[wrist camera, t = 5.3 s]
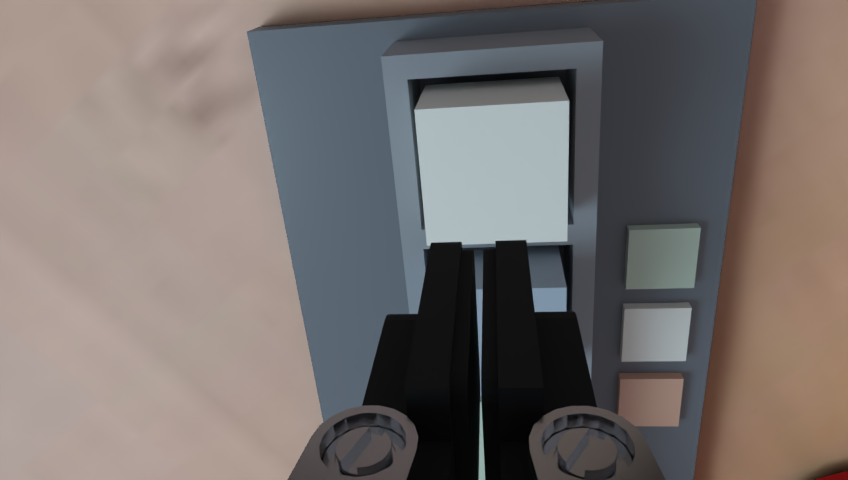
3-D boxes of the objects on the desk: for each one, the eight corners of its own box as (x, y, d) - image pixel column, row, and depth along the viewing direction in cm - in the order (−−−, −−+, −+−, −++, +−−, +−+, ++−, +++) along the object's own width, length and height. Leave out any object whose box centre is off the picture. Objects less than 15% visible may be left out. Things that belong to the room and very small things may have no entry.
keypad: (259, 26, 22) (213, 45, 18) (743, -12, 20) (798, 1, 16) (351, 517, 32) (333, 590, 29) (677, 525, 30) (701, 604, 27)
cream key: (425, 85, 19) (414, 109, 17) (558, 76, 19) (569, 100, 16) (435, 206, 21) (426, 245, 18) (557, 200, 21) (567, 241, 18)
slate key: (438, 246, 22) (430, 290, 19) (557, 242, 21) (566, 287, 19) (446, 342, 23) (440, 396, 21) (556, 341, 23) (565, 396, 20)
